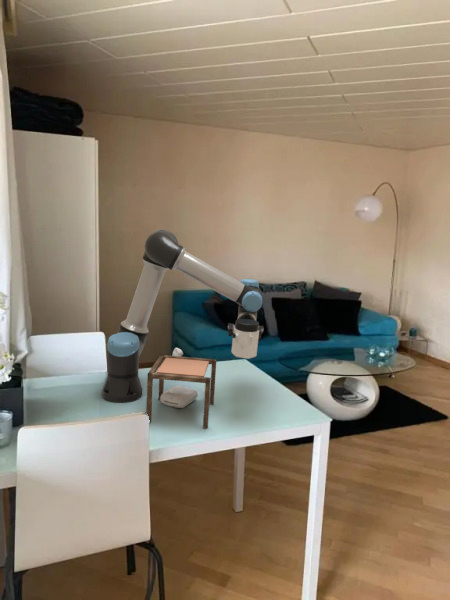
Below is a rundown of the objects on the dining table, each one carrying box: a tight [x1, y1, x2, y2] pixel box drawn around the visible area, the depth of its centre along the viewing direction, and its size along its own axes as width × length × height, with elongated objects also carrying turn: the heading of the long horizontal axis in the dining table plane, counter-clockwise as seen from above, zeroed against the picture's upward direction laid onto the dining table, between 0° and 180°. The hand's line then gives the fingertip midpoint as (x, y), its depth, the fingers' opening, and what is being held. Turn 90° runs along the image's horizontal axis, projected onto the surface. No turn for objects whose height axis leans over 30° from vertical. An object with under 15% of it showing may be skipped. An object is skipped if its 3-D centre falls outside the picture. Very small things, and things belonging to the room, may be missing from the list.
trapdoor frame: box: [145, 354, 217, 429], centre depth 172 cm, size 21×21×18 cm
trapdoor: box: [156, 358, 210, 377], centre depth 170 cm, size 16×16×1 cm
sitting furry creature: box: [171, 347, 184, 357], centre depth 211 cm, size 10×9×12 cm
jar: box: [230, 318, 260, 360], centre depth 168 cm, size 9×8×12 cm
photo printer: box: [159, 385, 198, 409], centre depth 181 cm, size 10×4×12 cm
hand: (243, 339), depth 163 cm, fingers closed on jar, 4 cm apart
